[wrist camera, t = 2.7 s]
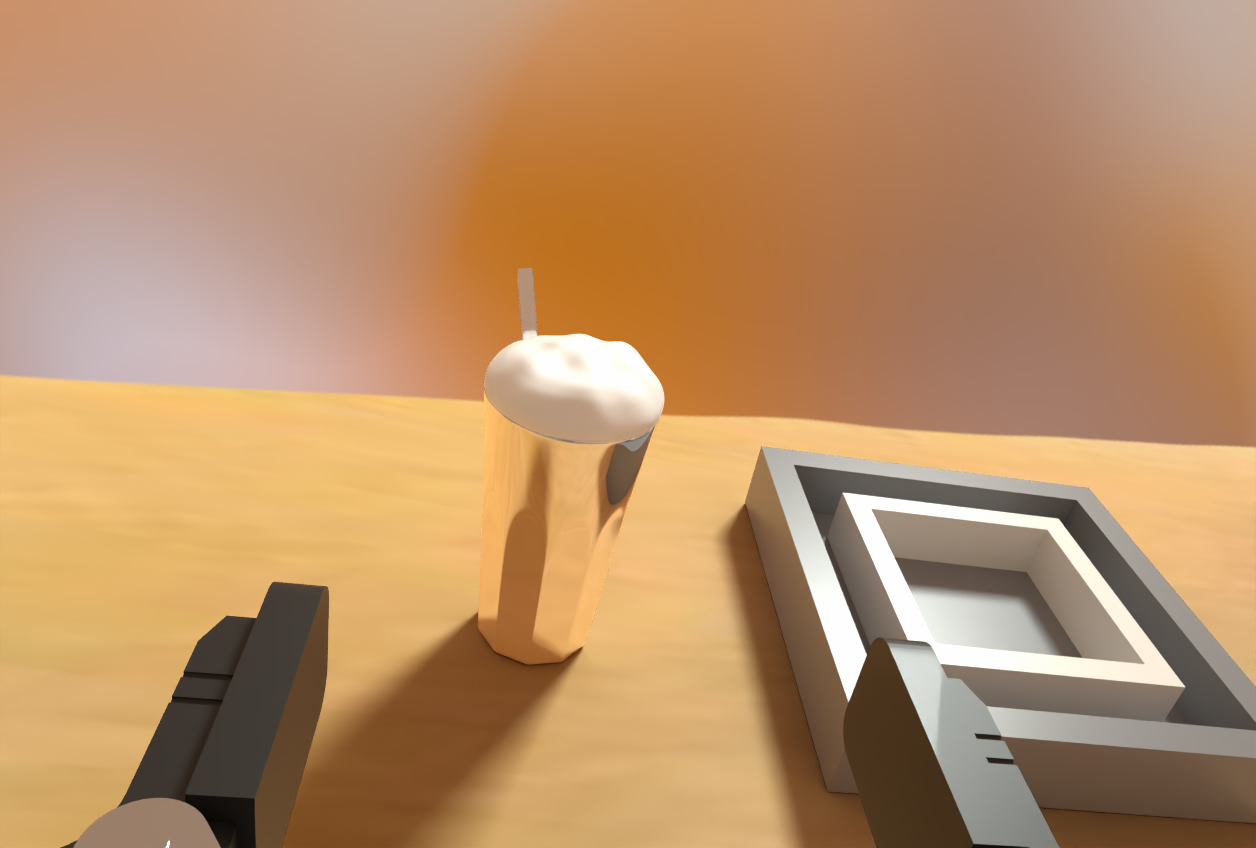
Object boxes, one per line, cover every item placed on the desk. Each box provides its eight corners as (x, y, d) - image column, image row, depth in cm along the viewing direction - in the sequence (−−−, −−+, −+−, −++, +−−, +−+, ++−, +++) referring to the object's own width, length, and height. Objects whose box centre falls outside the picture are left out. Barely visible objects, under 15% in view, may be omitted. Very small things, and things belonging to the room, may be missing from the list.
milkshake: (546, 547, 32) (595, 262, 27) (638, 654, 28) (716, 348, 23) (417, 582, 29) (446, 273, 24) (501, 704, 25) (555, 372, 20)
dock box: (827, 791, 25) (855, 723, 24) (744, 502, 36) (761, 446, 35) (1271, 824, 27) (1320, 763, 25) (1062, 539, 38) (1088, 488, 37)
